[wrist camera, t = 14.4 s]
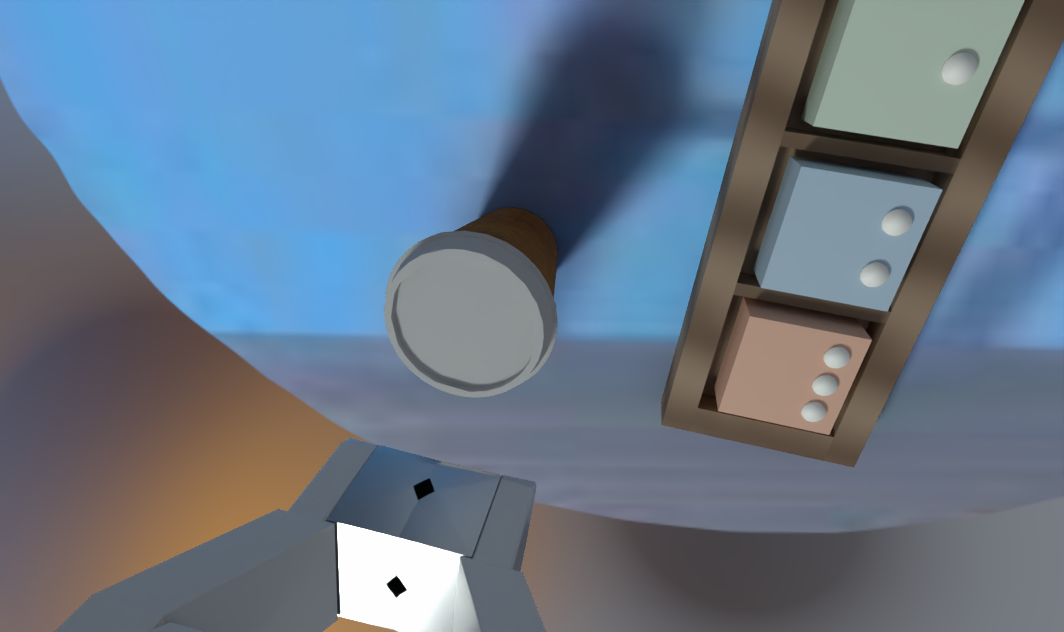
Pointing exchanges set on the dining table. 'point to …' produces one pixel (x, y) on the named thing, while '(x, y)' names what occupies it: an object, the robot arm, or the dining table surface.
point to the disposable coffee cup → (476, 304)
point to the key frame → (779, 132)
